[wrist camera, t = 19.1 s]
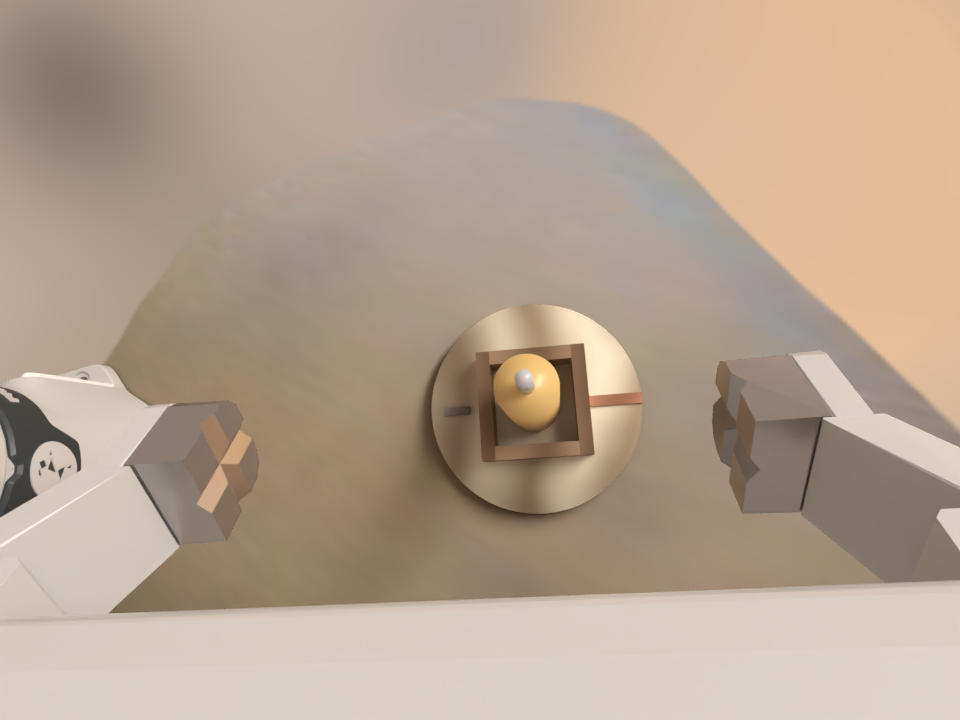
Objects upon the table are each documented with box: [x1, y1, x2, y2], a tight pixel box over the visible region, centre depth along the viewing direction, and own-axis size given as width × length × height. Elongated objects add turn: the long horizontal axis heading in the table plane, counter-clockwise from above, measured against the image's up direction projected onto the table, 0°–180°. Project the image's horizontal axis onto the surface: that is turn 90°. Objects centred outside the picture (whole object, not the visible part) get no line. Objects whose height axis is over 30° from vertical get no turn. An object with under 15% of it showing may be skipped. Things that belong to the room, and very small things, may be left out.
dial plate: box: [432, 304, 643, 514], centre depth 46 cm, size 16×16×4 cm
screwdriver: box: [493, 354, 560, 432], centre depth 40 cm, size 4×4×13 cm
